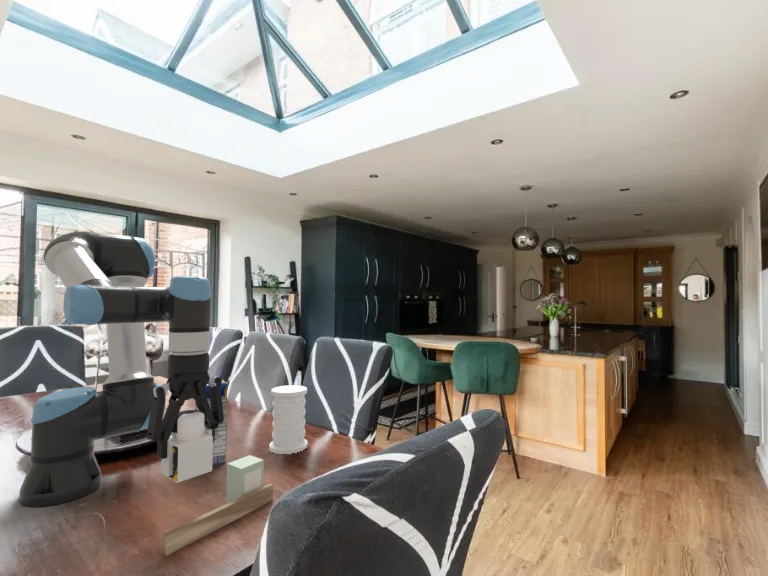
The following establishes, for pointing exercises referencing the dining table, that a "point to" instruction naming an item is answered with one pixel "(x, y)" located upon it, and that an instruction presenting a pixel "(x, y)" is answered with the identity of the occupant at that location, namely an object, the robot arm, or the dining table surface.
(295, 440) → the decorative container
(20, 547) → the dining table surface
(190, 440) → the medicine bottle
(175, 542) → the rail
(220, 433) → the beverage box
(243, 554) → the dining table surface
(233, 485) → the sage carton
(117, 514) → the dining table surface
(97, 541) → the dining table surface
